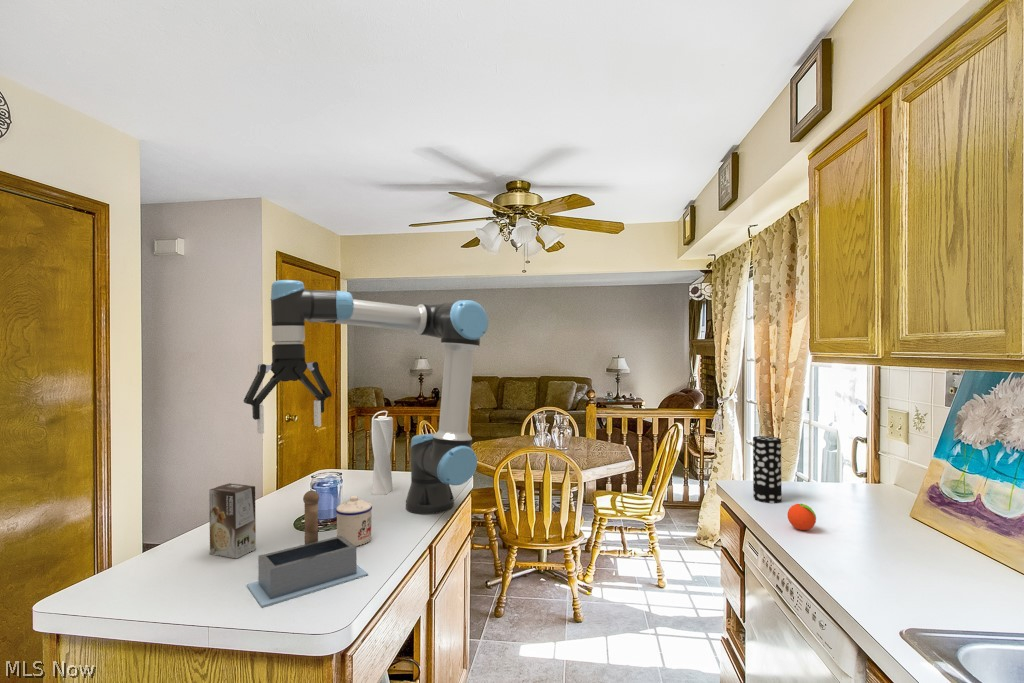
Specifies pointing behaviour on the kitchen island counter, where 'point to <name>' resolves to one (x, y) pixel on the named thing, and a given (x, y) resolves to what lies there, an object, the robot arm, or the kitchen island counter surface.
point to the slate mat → (266, 601)
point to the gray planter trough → (306, 566)
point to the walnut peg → (311, 516)
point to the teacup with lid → (354, 521)
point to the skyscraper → (382, 453)
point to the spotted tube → (767, 469)
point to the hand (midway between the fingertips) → (290, 429)
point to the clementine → (801, 516)
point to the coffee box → (232, 520)
